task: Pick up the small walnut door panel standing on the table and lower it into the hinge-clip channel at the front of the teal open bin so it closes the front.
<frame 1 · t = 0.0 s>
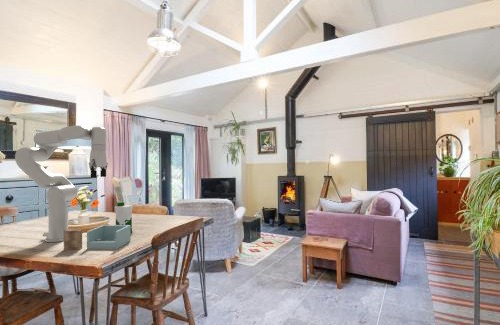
hand: (98, 177, 158), 37 cm above the table, tool pointing down, fingers open, 9 cm apart
door: (73, 249, 140), on the table
milk carton: (123, 234, 170), on the table
teal open bin: (109, 244, 148), on the table
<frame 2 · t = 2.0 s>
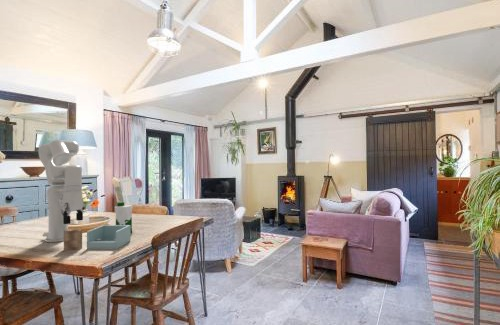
hand: (73, 221, 139), 14 cm above the table, tool pointing down, fingers open, 9 cm apart
nothing on the table moved.
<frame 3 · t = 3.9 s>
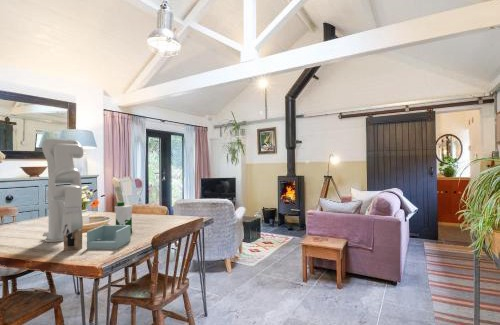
hand: (73, 244, 140), 2 cm above the table, tool pointing down, fingers closed on door, 2 cm apart
door: (73, 249, 140), on the table, touching gripper
everything else where it was.
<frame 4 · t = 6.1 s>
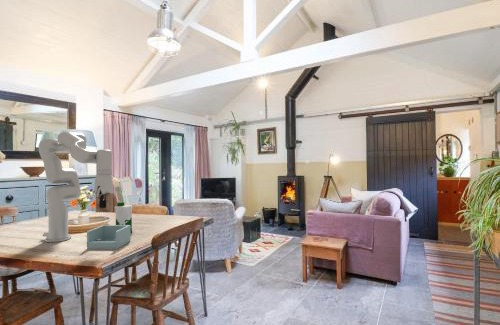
hand: (104, 206, 143), 21 cm above the table, tool pointing down, fingers closed on door, 2 cm apart
door: (104, 211, 143), point 19 cm above the table, touching gripper
everything else where it was.
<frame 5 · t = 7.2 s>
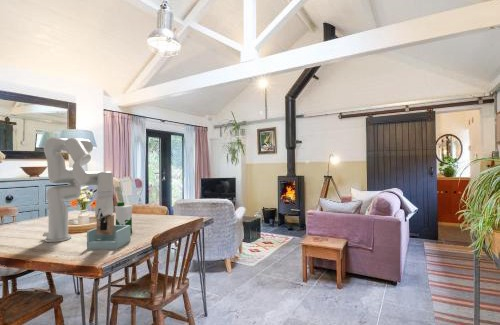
hand: (105, 228, 143), 10 cm above the table, tool pointing down, fingers closed on door, 2 cm apart
door: (105, 234, 143), point 7 cm above the table, touching gripper
everything else where it was.
when the fingers open (5 cm above the table, at t = 8.3 s): door stays where it is, resting on teal open bin.
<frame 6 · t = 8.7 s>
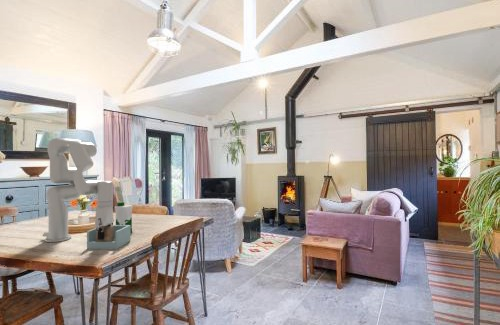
hand: (105, 237, 143), 5 cm above the table, tool pointing down, fingers open, 7 cm apart
door: (105, 245, 143), point 1 cm above the table, touching teal open bin
everything else where it was.
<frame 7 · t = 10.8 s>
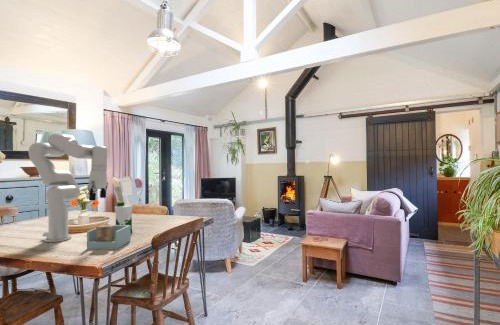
hand: (97, 198, 149), 25 cm above the table, tool pointing down, fingers open, 9 cm apart
nothing on the table moved.
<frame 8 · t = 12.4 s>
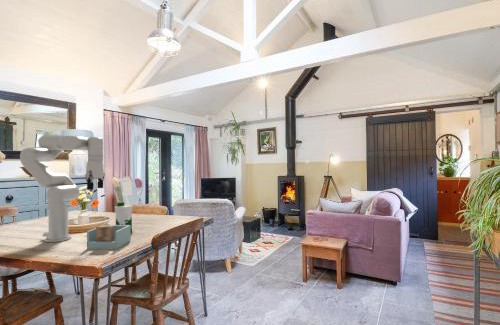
hand: (95, 188, 153), 30 cm above the table, tool pointing down, fingers open, 9 cm apart
nothing on the table moved.
at the end: door 0.1 cm from the target spot on the teal open bin, point 1.0 cm above the teal open bin's base; door tilted 0°; the gripper is holding nothing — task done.
